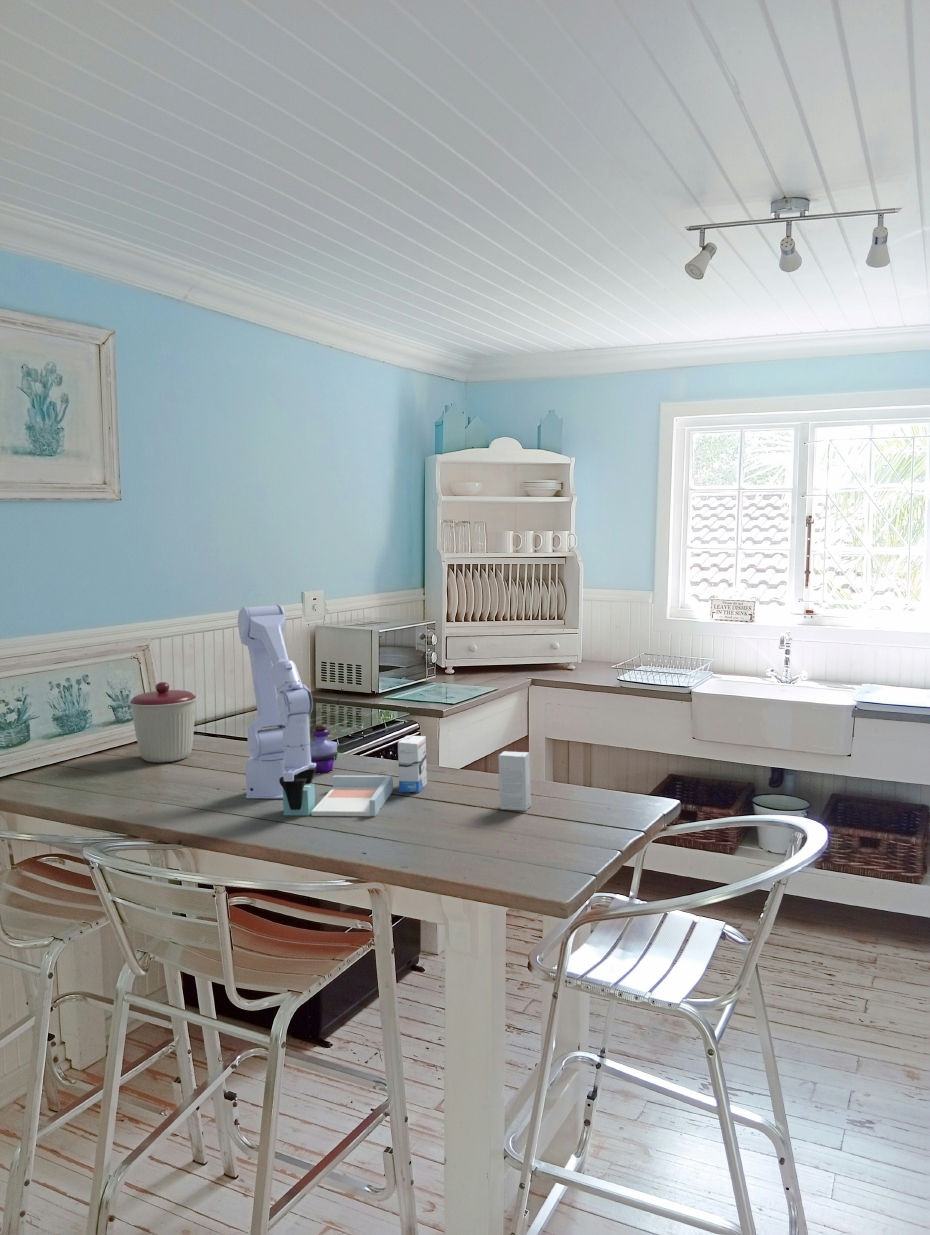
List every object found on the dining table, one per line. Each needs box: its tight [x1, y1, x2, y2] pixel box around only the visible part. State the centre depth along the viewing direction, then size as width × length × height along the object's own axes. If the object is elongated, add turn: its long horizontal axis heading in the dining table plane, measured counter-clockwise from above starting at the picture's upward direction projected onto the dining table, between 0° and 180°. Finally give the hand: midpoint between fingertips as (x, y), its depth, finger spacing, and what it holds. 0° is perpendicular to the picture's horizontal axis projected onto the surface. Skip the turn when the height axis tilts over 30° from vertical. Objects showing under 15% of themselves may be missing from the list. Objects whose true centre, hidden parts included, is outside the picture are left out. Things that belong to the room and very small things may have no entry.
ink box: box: [397, 735, 428, 794], centre depth 227 cm, size 8×5×12 cm, turn 168°
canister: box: [127, 681, 199, 764], centre depth 263 cm, size 18×18×21 cm
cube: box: [282, 783, 316, 816], centre depth 211 cm, size 6×6×6 cm
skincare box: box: [497, 750, 532, 812], centre depth 210 cm, size 6×4×12 cm
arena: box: [311, 774, 394, 817], centre depth 217 cm, size 14×20×4 cm
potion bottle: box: [310, 723, 339, 775], centre depth 245 cm, size 9×9×12 cm
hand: (299, 805), depth 212 cm, fingers closed on cube, 5 cm apart
